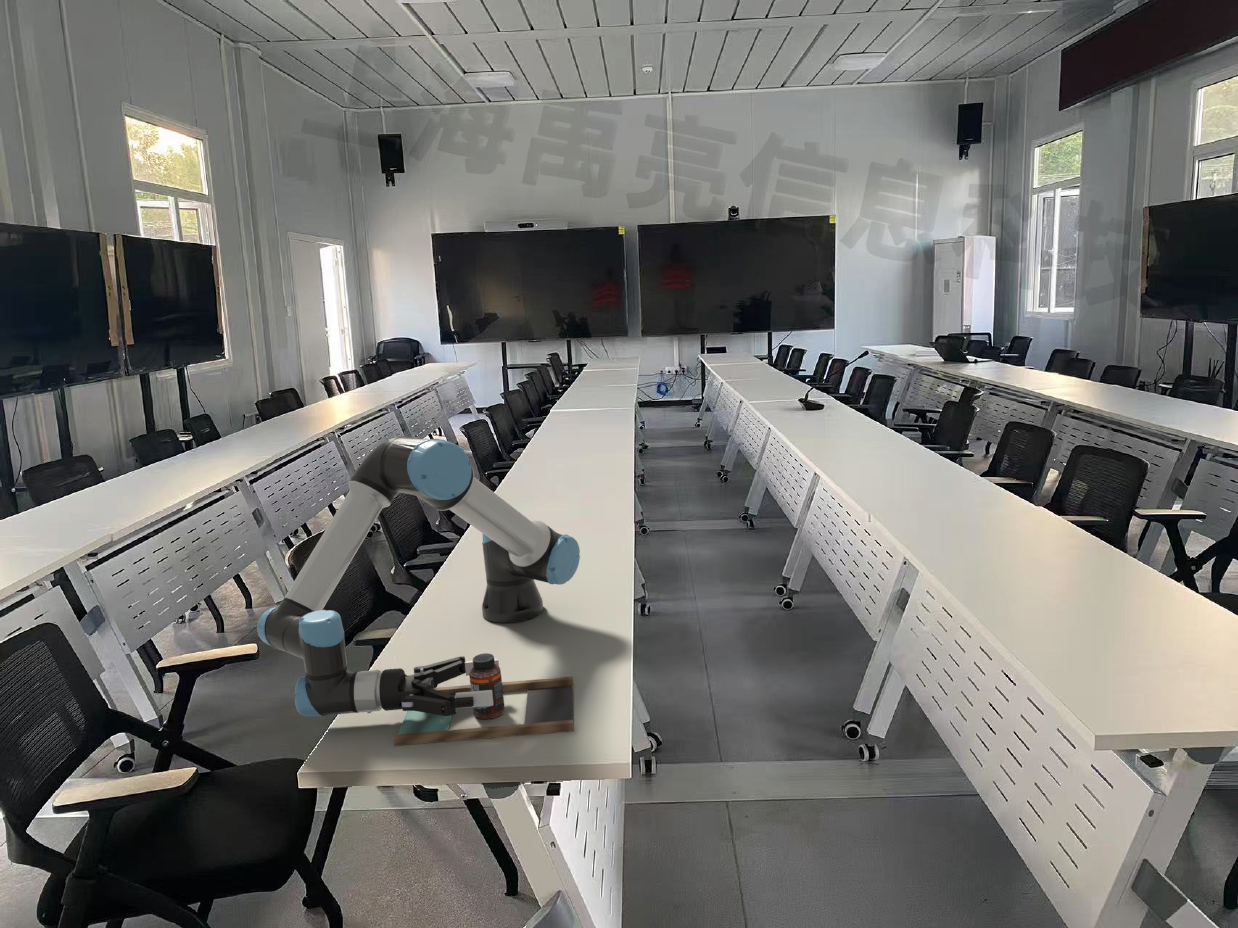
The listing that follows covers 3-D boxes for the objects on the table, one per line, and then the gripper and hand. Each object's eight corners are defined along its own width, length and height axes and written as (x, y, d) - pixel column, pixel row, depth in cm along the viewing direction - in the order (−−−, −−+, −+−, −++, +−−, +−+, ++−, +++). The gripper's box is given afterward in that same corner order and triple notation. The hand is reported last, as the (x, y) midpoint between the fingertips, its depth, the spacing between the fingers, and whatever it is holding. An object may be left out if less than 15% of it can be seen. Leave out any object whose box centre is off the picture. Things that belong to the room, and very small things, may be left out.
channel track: (394, 745, 154) (393, 737, 154) (413, 696, 173) (412, 689, 172) (573, 730, 155) (572, 722, 155) (573, 683, 174) (572, 676, 174)
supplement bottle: (506, 704, 167) (501, 649, 165) (503, 719, 161) (498, 662, 159) (475, 706, 167) (469, 651, 165) (471, 721, 161) (465, 665, 159)
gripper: (397, 679, 175) (502, 671, 175) (369, 742, 150) (491, 732, 151) (393, 644, 173) (499, 636, 174) (364, 702, 149) (487, 692, 150)
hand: (496, 681), depth 163 cm, fingers open, 13 cm apart
